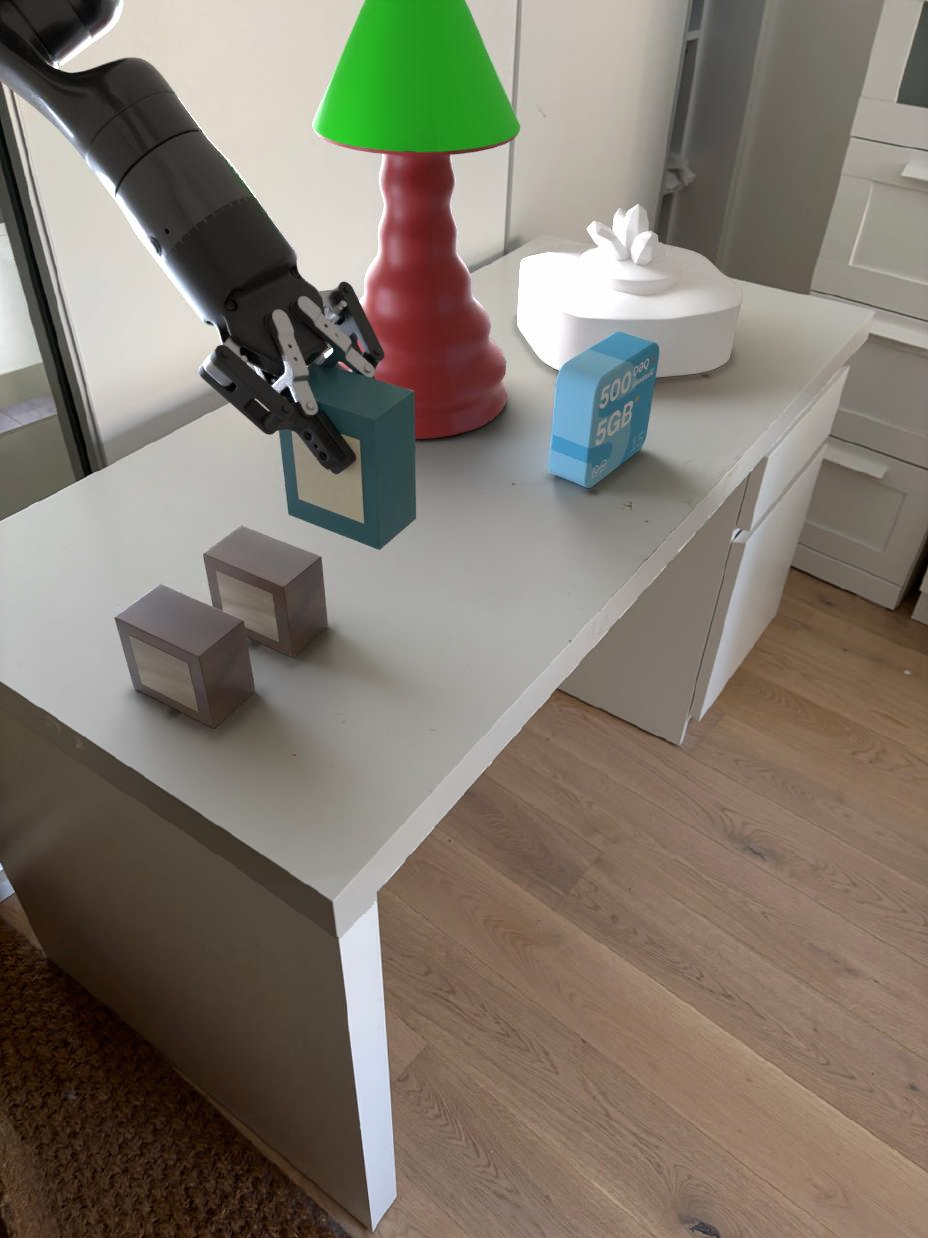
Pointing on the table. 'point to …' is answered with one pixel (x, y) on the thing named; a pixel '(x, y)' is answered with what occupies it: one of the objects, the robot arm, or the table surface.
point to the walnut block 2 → (268, 588)
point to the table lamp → (423, 198)
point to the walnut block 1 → (186, 654)
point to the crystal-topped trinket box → (628, 298)
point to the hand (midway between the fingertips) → (370, 448)
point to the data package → (602, 408)
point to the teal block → (385, 459)
